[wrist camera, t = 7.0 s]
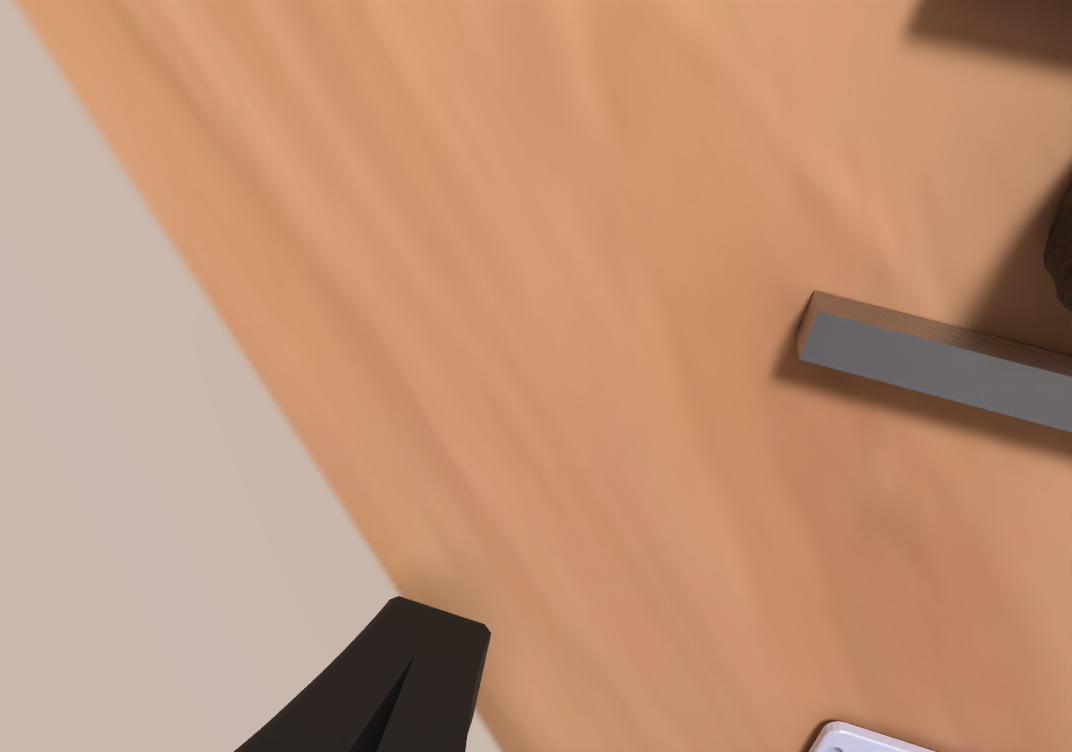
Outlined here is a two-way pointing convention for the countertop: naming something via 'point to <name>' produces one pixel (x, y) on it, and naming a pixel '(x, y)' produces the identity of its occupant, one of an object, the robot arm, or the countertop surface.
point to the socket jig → (938, 359)
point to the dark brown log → (1061, 251)
